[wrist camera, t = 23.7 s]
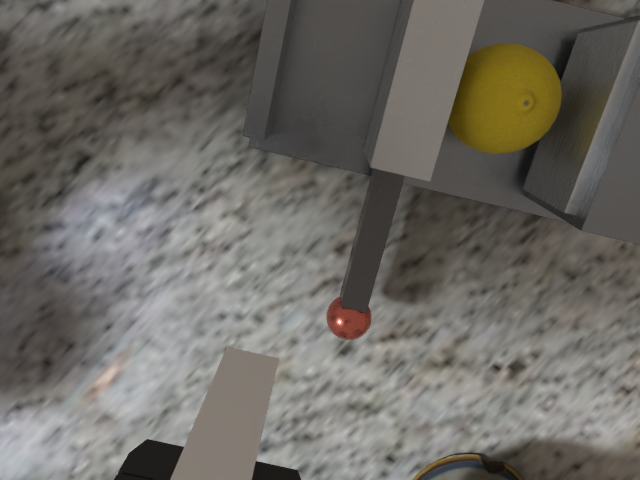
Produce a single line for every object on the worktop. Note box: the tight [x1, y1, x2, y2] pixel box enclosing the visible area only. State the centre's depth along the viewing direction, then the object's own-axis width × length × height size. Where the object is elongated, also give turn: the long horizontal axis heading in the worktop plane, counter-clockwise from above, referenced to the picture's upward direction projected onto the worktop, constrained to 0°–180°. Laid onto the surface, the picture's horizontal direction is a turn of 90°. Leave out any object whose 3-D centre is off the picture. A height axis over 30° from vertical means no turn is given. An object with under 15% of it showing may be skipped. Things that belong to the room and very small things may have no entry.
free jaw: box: [327, 0, 484, 340], centre depth 28 cm, size 3×20×7 cm, turn 167°
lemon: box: [448, 43, 562, 154], centre depth 27 cm, size 6×6×8 cm
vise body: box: [243, 0, 640, 244], centre depth 27 cm, size 21×12×9 cm, turn 77°
